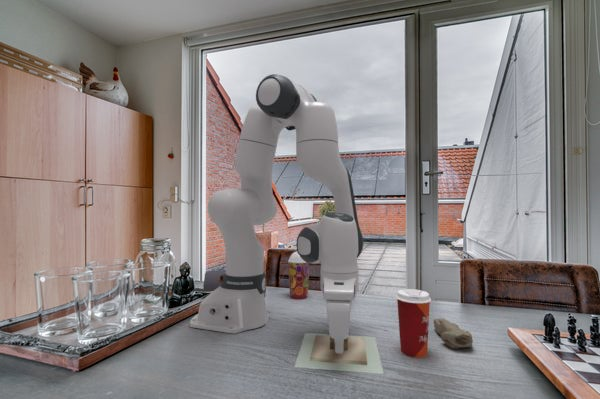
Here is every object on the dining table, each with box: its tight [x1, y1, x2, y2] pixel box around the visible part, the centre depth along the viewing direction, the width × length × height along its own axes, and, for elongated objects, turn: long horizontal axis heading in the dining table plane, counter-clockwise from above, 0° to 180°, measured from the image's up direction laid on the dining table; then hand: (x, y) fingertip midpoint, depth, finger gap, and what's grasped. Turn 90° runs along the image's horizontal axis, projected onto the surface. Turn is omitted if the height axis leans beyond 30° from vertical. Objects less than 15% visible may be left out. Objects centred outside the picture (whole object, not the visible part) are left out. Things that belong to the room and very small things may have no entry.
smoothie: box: [287, 250, 311, 300], centre depth 118 cm, size 8×8×20 cm
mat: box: [294, 332, 384, 375], centre depth 72 cm, size 18×18×1 cm
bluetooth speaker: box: [202, 269, 267, 294], centre depth 120 cm, size 23×9×10 cm, turn 94°
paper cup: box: [395, 288, 432, 359], centre depth 72 cm, size 8×8×14 cm
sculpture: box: [433, 317, 474, 350], centre depth 80 cm, size 7×5×15 cm
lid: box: [310, 335, 367, 365], centre depth 72 cm, size 12×12×4 cm
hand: (339, 342), depth 72 cm, fingers open, 8 cm apart
